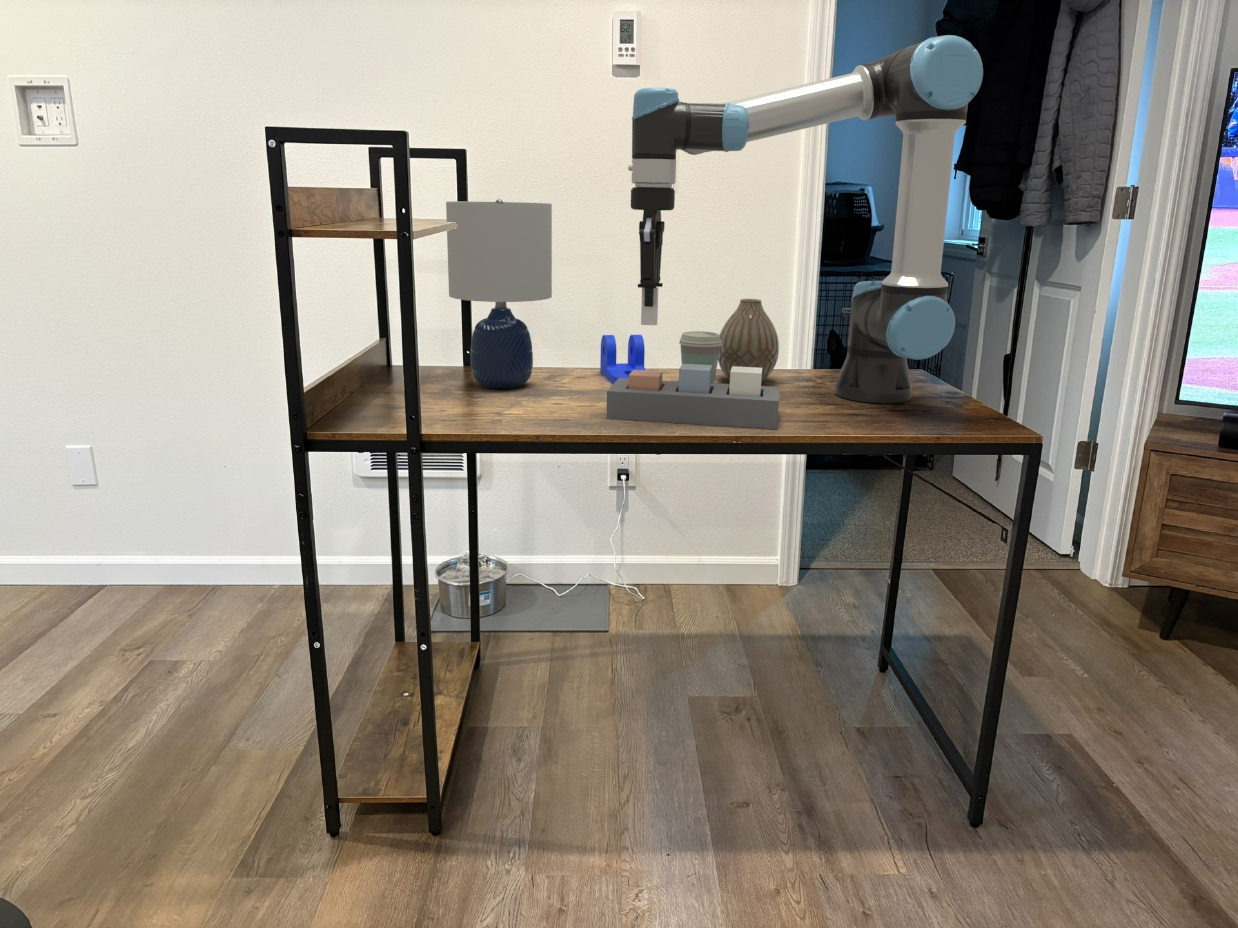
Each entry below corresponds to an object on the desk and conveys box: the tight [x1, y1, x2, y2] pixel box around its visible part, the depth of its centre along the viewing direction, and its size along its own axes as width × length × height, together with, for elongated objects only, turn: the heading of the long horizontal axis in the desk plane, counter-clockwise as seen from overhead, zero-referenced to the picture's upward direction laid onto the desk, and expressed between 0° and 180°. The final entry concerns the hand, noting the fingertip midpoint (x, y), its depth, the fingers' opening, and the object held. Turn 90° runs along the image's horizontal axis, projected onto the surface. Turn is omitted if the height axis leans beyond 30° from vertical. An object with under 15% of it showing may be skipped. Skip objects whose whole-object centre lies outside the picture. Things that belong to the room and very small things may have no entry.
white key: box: [729, 366, 762, 397], centre depth 161 cm, size 5×5×4 cm
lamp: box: [445, 198, 553, 390], centre depth 181 cm, size 20×20×37 cm
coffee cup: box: [678, 330, 722, 383], centre depth 182 cm, size 9×8×12 cm
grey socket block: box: [606, 378, 780, 430], centre depth 164 cm, size 30×12×5 cm, turn 80°
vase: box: [718, 298, 780, 383], centre depth 194 cm, size 13×13×18 cm
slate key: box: [678, 363, 712, 394], centre depth 163 cm, size 5×5×4 cm
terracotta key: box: [628, 369, 663, 391], centre depth 165 cm, size 5×5×4 cm
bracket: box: [599, 334, 646, 385], centre depth 194 cm, size 18×8×9 cm, turn 12°
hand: (649, 324), depth 162 cm, fingers closed
